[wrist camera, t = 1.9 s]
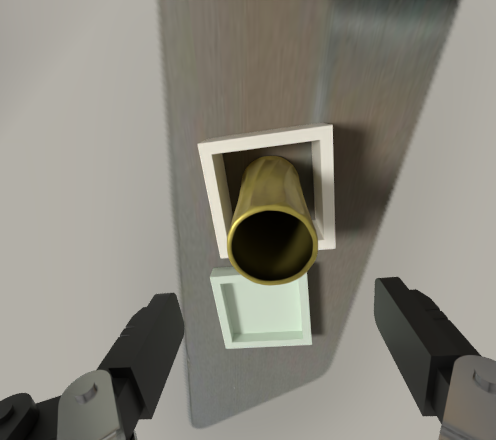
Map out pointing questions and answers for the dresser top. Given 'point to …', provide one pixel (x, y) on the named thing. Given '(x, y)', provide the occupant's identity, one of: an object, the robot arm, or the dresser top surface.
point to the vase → (271, 225)
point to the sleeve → (311, 132)
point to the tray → (261, 311)
